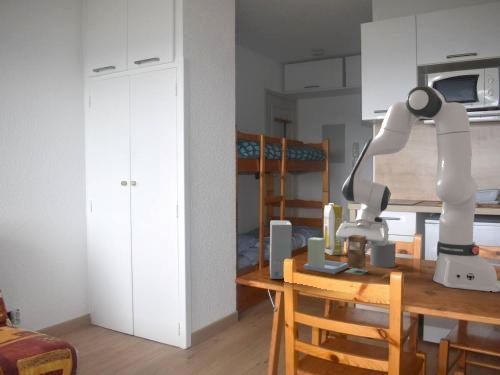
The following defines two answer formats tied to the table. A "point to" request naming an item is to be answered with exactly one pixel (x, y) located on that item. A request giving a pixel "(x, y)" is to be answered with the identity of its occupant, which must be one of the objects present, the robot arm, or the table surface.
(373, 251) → the coffee mug
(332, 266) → the parts tray
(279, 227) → the hard drive box
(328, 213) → the juice carton
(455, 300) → the table surface
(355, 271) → the felt pad
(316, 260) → the sage box
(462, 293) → the table surface
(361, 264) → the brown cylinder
